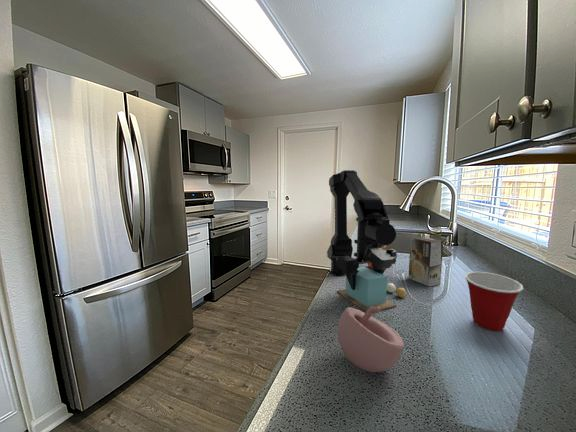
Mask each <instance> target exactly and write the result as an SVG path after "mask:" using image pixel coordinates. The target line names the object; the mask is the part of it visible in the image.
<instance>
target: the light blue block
mask: <svg viewBox="0 0 576 432" xmlns="http://www.w3.org/2000/svg"><path fill="white" fill-rule="evenodd" d="M357 270H358V271H359V272H358V273H357V274H356V286H355V290H352V289H351V286H350V284H349V282H348V279H347V277H346V276H345V289H346V294H348V295H349V296H351V297H352V298H354V299H356V300H357V301H359V302H360V303H362V304H363V305H365V306H367V307H370V306H374V305H378V304H382V303H386V300H387V284H388V276H387V275H385V274H384V273H383V274H380V273H378V272H375V271H373V270H371V269H369V267H366V266H363V265H362V266H359V268H358V269H357Z"/></svg>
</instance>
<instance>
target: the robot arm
mask: <svg viewBox="0 0 576 432" xmlns="http://www.w3.org/2000/svg"><path fill="white" fill-rule="evenodd" d="M328 185H329V189H330V190H329V191H330V193H331V195H332V196H333V198H334V234H333V236H332V238H331V240H330V245H329V247H328V249H327V251H326V256H327V258H328V259H329V260H330V269H327V272H329V273H331V274H332V275H334V276H336V277H340V276H345V278H346V277H347V279H348V282H349V284H350V286H351V289H352V290H355V286H356V274H357V273H358V272H359V271H358V270H357V269H358V268H359V267H360V265H364V264H368V263H372V267H373V271H375V272H378V273H380V274H383V275H384V273H385V271H386V270H387V269H390V268H391V267H392V266H393V265H395V264H396V262H397V259H398V258H397V254H398V253H397V250H395V249H394V248H391V249H389V248H388V249H386V250H383V249H381V245H387V246H389V245H391V244H392V243H393V242H394V241H395V240H396V238H397V231H396V229H395V227H394V226H393V225H392V224H390V221H391V220H390V219H389V216H388V215H389V213H388V212H387V209H386V207H385V204H384V201H383V200H382V198H381V197H380V196H379V195H378V194H377V193H376V192H373V191H370V190H369V189H368V188H367V186H366V185H365V184H364V183H363V181H362V180H361V179H360V177H359V175H358V172H357V171H355V170H349V169H345V170H341V171H340V172H338V173H335V174H333V175H331V176H330V177H329V180H328ZM349 194H351V196H352V198H353V200H354V202H353V209H354V212H355V214H356V216H357V217H356V218H355V221H356V222H357V233H356V234H357V235H356V238H357V239H354V240H352V238H350V236H349V235H348V217H347V216H348V212H347V211H348V204H347V203H348V201H347V199H348V196H349ZM353 243H354V244H356V251H355V252H353V251H354V248H353ZM352 256H354V257H352ZM330 270H331V271H330Z"/></svg>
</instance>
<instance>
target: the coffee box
mask: <svg viewBox="0 0 576 432" xmlns="http://www.w3.org/2000/svg"><path fill="white" fill-rule="evenodd" d="M409 241H410V243H409V245H410V246H409V256H408V257H409V258H408V259H409V260H408V261H409V262H408V279H410V280H412V281H415V282H417V283H420V284H422V285H424V286H426V287H434V286H440V285H441V282H442V281H441V280H442V268H443V253H444V252H443V251H444V240H440V239H435V238H431V237H426V236H414V237H412V236H411V237H410V239H409Z"/></svg>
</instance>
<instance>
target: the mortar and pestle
mask: <svg viewBox="0 0 576 432" xmlns="http://www.w3.org/2000/svg"><path fill="white" fill-rule="evenodd" d="M380 310H381V308H380V307H373V306H371V307H370V308H369V309H368V310H367V312H366V311H362V310H360V309H357V308H354V307H349V306H348V307H346V308H345V309H344V311H343V312H342V314H341V316H340V318H339V319H338V324H337V339H338V343H339V346H340V348H341V350H342V352H343V354H344V355H345V357H346V358H347V359H348V360H349V361H350V362H351V364H353V365H354V366H356V367H358V368H359V369H361V370H364V371H367V372H370V373H381V372H386V371H387V370H391V369H392V368H393V367H394V366H395V365H396V364H398V362H399V360H400V359H401V357H402V355H403V352H404V350H405V349H404V348H405V343H404V340H403V338H402V336H400V334H399V333H398V332H397V331H396V330H395V329H394V328H393V327H391V326H389V325H388V324H386V323H384V322H383V321H380V320H379V319H378V318H375V317H374V316H373V315H374V314H375V313H380V312H381V311H380Z"/></svg>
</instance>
